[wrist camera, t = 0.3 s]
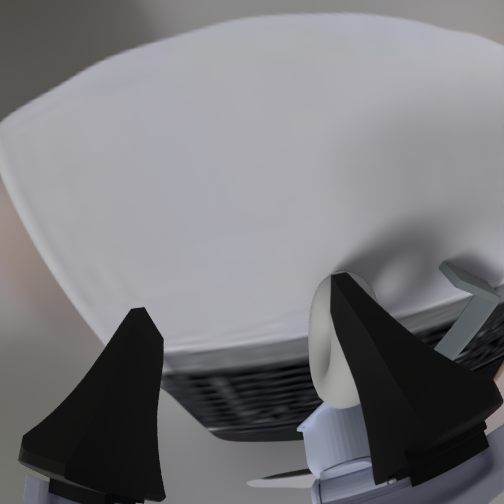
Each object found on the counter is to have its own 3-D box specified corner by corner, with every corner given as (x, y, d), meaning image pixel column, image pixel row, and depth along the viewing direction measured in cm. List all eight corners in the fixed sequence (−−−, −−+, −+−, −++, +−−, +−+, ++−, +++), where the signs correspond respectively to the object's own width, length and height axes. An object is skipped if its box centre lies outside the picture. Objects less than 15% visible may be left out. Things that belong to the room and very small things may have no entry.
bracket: (422, 366, 30) (430, 383, 28) (370, 361, 29) (378, 382, 26) (487, 282, 24) (501, 298, 21) (443, 261, 22) (460, 279, 20)
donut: (313, 245, 21) (355, 346, 13) (356, 245, 21) (414, 338, 13) (298, 340, 26) (316, 435, 17) (334, 338, 26) (360, 428, 18)
